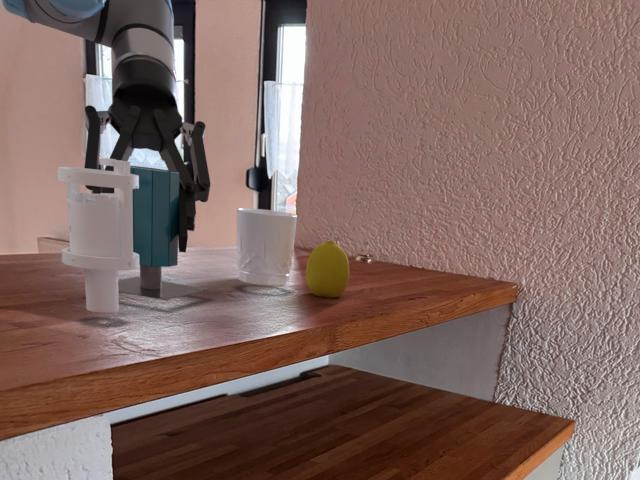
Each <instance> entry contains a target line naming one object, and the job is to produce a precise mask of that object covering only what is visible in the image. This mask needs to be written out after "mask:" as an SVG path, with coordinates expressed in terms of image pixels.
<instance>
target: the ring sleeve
mask: <svg viewBox="0 0 640 480" xmlns="http://www.w3.org/2000/svg"><path fill="white" fill-rule="evenodd" d="M130 174H134V175H138V176H139V188H138V189H137V188H136V189H132V199H133V252H135V253H137V254H139V266H140V265H144V266H154V267H161V268H170V267H176V266H178V265H179V262H178V261H179V243H178V204H179V172H177V171H171V170H168V169H163V168H157V167H149V166H139V165H130Z"/></svg>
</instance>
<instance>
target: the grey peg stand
mask: <svg viewBox="0 0 640 480" xmlns="http://www.w3.org/2000/svg"><path fill="white" fill-rule="evenodd" d="M118 291H119V292H118V293H122V294H128V295H135V296H139V297H146V298H151V299H157V300H163V301H170V300H174V299H177V298H181V297H186V296H189V295H192V294H193V295H194V294H196V293H201V292H205V291H209V288H206V287H200V286H193V285H189V284H188V285H187V284H181V283H175V282H169V281H164V280H162V267H154V266H144V265H139V276H134V277H127V278H122V279H118Z"/></svg>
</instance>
